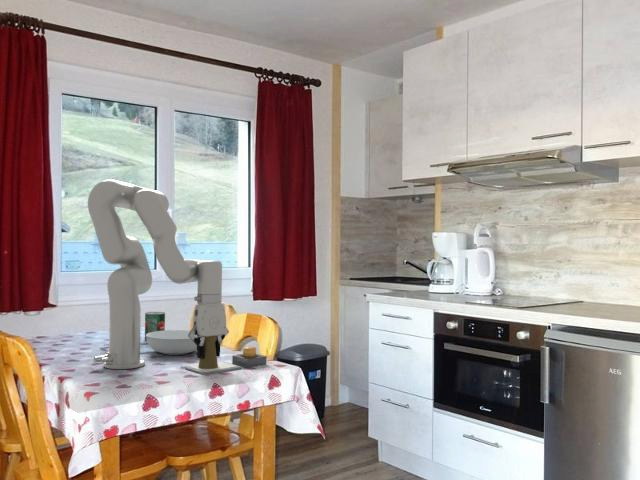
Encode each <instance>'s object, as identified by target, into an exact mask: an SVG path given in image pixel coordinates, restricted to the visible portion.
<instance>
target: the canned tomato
mask: <svg viewBox="0 0 640 480" xmlns="http://www.w3.org/2000/svg"><path fill="white" fill-rule="evenodd" d="M144 313H145V314H144V341H146V342H147V340H146V334H148V333H151V332H156V331H166V312H164V311H148V312H144Z"/></svg>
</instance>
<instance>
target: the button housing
mask: <svg viewBox="0 0 640 480" xmlns="http://www.w3.org/2000/svg"><path fill="white" fill-rule="evenodd" d="M231 364H234V365H237V366H241V367H242V368H246V369H249V368H254V367H253V366H255V367H259V366H258V365H260V366H264V365H267V356H266V355H264V354H263V355H262V354H258V353H256V357H252V358H246V357H243V353H242V354H241V353H240V354H235V355H232V362H231ZM248 367H249V368H248Z"/></svg>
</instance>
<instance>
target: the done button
mask: <svg viewBox="0 0 640 480" xmlns="http://www.w3.org/2000/svg"><path fill="white" fill-rule="evenodd" d="M242 354H243V357H246V358H252V357H256V354H257V347H256V346H244V347H242Z"/></svg>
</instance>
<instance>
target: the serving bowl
mask: <svg viewBox="0 0 640 480" xmlns="http://www.w3.org/2000/svg"><path fill="white" fill-rule="evenodd" d="M190 331H191V330H189V329H188V330H187V329H185V330H182V329H178V330H177V329H174V330H173V329H171V330H166V329H165V331H156V332H151V333H148V334H146V340H147V341H146V342H147V345H148V347H149V348H150V349H152V351H155V352H157V353H161V354H164V355H166V356H167V355H168V356H181V355H182V356H183V355H186V354H189V353H192V352H195V351H197V345H195V343H194V342H193V341H192V340H191V339H190V338H189V337H188V334H189V332H190ZM195 337H196V338H197V335H195Z"/></svg>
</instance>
